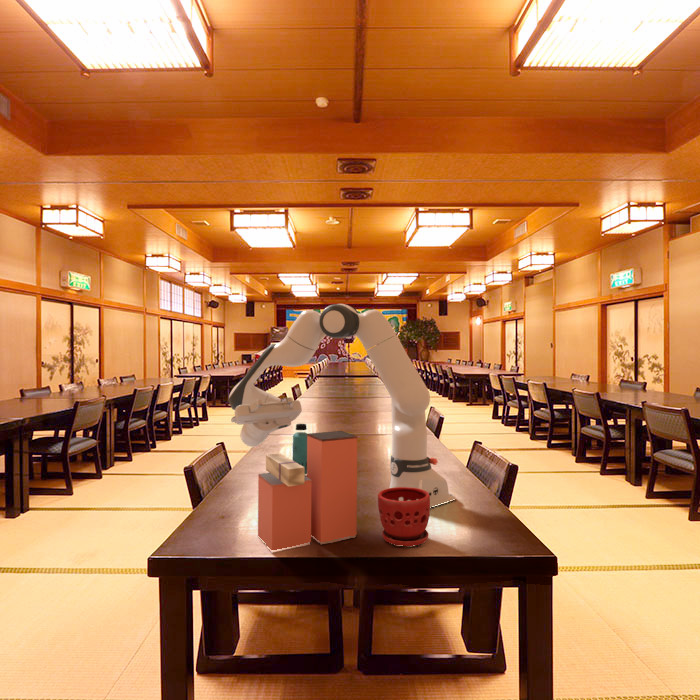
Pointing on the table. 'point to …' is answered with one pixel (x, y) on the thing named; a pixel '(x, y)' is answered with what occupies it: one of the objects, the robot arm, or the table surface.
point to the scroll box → (285, 469)
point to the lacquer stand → (312, 495)
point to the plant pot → (404, 515)
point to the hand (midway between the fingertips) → (275, 400)
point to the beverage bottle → (300, 446)
